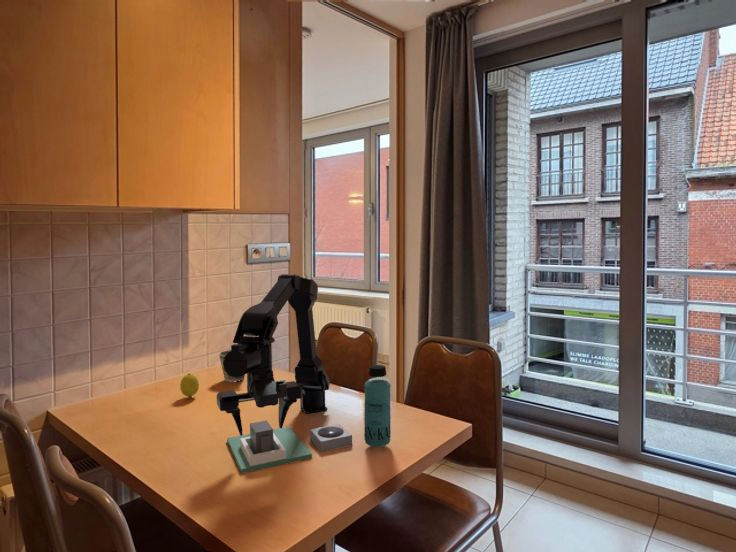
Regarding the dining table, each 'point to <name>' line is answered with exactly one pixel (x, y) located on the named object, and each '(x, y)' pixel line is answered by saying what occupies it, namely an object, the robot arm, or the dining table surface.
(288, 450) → the board
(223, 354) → the ceramic cup
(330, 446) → the grey square block
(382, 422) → the beverage bottle
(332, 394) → the dining table surface
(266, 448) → the plug
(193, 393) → the lemon
